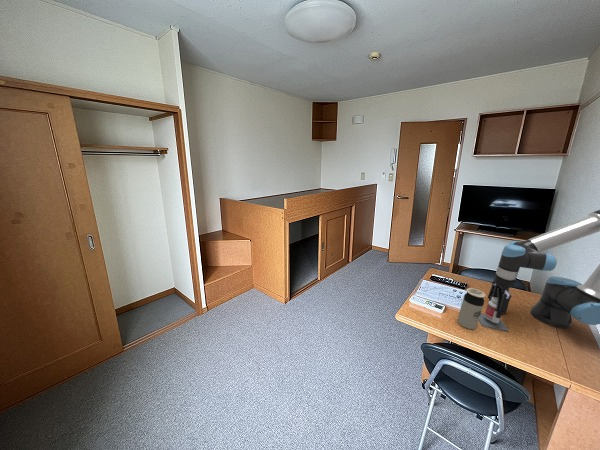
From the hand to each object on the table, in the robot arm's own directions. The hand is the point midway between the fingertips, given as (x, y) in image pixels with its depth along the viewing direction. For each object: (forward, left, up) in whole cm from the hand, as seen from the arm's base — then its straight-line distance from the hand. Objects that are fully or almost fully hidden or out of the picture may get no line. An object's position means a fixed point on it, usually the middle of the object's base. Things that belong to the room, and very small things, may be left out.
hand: (491, 317), depth 122 cm
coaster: (0, 0, -2) cm, 2 cm away
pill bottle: (0, 0, -1) cm, 1 cm away
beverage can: (-8, -12, -3) cm, 15 cm away
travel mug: (+13, +7, -3) cm, 14 cm away
